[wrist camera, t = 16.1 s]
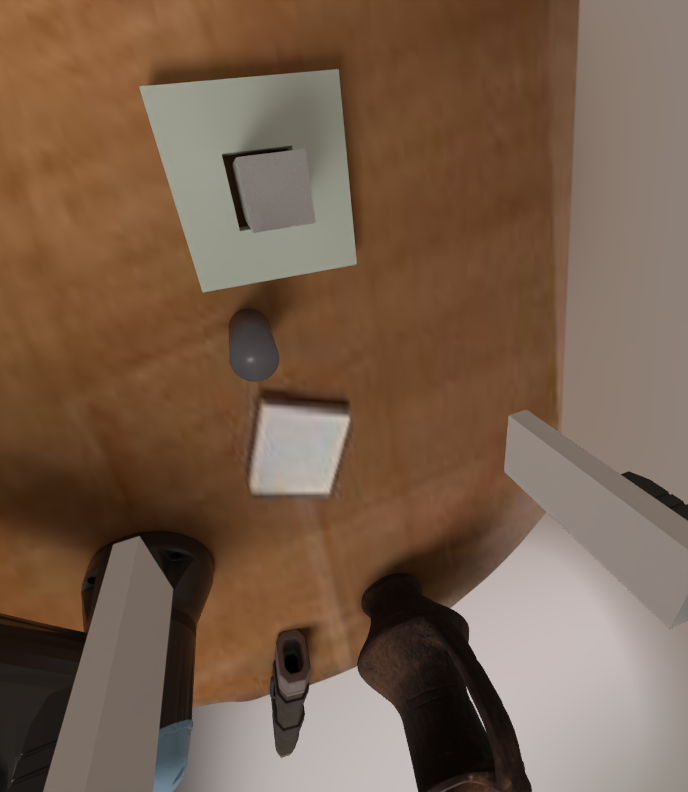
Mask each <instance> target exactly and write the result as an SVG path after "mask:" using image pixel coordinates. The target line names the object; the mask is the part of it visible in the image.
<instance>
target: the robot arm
mask: <svg viewBox="0 0 688 792" xmlns="http://www.w3.org/2000/svg"><path fill="white" fill-rule="evenodd" d="M504 472H505V473H506V474H507V475H508V476H509V477H511V478H512V479H513V480H514V481H515V482H516V483H517V484H518V485H519V486H520V487H521V488H522V489H523V490H524V491H525V492H526V493H527V494H528V495H529V496H530V497H531V498H533V499H534V500H535V501H536V502H537V503H538V504H539V505H540V506H541V507H542V508H543V509H544V510H545V511H546V512H547V513H548V514H549V515H551V517H552V518H553V519H555V520H556V521H557V522H558V523H559V524H560V525H561V526H562V527H563V528H564V529H565V530H566V531H567V532H568V533H569V534H571V536H572V537H573V538H574V539H575V540H577V541H578V542H579V543H580V544H581V545H582V546H583V547H584V548H585V549H586V550H587V551H588V552H589V553H590V554H591V555H592V556H593V557H594V558H595V559H597V560H598V561H599V562H600V563H601V564H602V565H603V566H604V567H605V568H606V569H607V570H608V571H609V572H610V573H611V574H612V575H613V576H614V577H615V578H616V579H617V580H618V581H620V582H621V583H622V584H623V585H624V586H625V587H626V588H627V589H628V590H629V591H630V592H631V593H632V594H633V595H634V596H635V597H636V598H637V599H638V600H639V601H640V602H642V603H643V604H644V605H645V606H646V607H647V608H648V609H649V610H650V611H651V612H652V613H653V614H654V615H655V616H656V617H657V618H658V619H659V620H661V621H662V622H663V623H664V624H665V625H666V626H667V627H668V628H669V629H671V628H673V627H675V626H677V625H679V624H681V623H683V622H686V621H688V504H687V505H685V504H684V503H683V501H681V500H680V499H679V498H677V497H675V496H674V495H673V494H671V495H670V494H669V493H668V491H666V490H665V489H663V488H662V487H660V486H659V485H657V484H656V483H654V482H653V481H651V480H649V479H647V478H644V477H642V476H639V475H637V474H634V473H631V472H626V473H624V474H621V475H620V474H619V473H618V472H616V471H615V470H613V469H612V468H610V467H609V466H607V465H606V464H604V463H603V462H602V461H600V460H599V459H597V458H596V457H594V456H593V455H591V454H590V453H588V452H587V451H586V450H584V449H583V448H581V447H580V446H578V445H577V444H575V443H574V442H573V441H571V440H570V439H568V438H567V437H565V436H564V435H562V434H561V433H560V432H558V431H557V430H555V429H554V428H552V427H551V426H549V425H548V424H547V423H545V422H544V421H542V420H541V419H539V418H538V417H536V416H535V415H533V414H532V413H531V412H529V411H528V410H524V411H521V412H518V413H515V414H512V415H509V419H508V430H507V442H506V454H505V466H504ZM212 583H213V560H212V557H211V555H210V553H209V552H208V550H207V549H206V548H205V547H204V546H203V545H202V544H200V543H199V542H197V541H195V540H194V539H191V538H189V537H186V536H183V535H180V534H175V533H168V532H149V533H141V534H136V535H132V536H128V537H125V538H122V539H120V540H117V541H115V542H113V543H111V544H110V545H108V546H106V547H105V548H103V549H102V550H101V551H100V552H99V553H97V554H96V556H95V557H94V558H93V559H92V561H91V562H90V564H89V566H88V568H87V571H86V574H85V577H84V580H83V583H82V590H81V596H82V611H83V626H84V632H81V631H76V630H71V629H67V628H62V627H58V626H53V625H49V624H44V623H39V622H35V621H31V620H26V619H22V618H18V617H14V616H10V615H6V614H2V613H0V792H173V791H174V790H175V788H176V787H177V786H178V784H179V783H180V781H181V779H182V777H183V775H184V773H185V770H186V766H187V760H188V751H189V744H190V736H191V731H192V728H193V721H192V703H193V684H194V665H195V646H196V628H197V623H198V621H199V618H200V616H201V613H202V611H203V608H204V606H205V603H206V601H207V598H208V595H209V593H210V590H211V587H212Z"/></svg>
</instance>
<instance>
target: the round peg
mask: <svg viewBox="0 0 688 792" xmlns="http://www.w3.org/2000/svg"><path fill="white" fill-rule="evenodd" d="M229 348H230V364H231V367H232V369H233V371H234V372H235V373H236V374H237V375H238V376H239V377H241V378H242V379H245V380H248V381H261V380H264V379H266V378H268V377H270V376H271V375H272V374H273V373H274V372H275V371H276V369H277V367H278V364H279V354H278V351H277V348H276V345H275V342H274V339H273V335H272V332H271V329H270V326H269V323H268V321H267V319H266V317H265V316H264V315H263V314H261V313H260V312H258V311H256V310H252V309H245V310H241V311H239V312H237V313H236V314H235V315H234V316H233V317H232V318H231V320H230V322H229Z"/></svg>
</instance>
